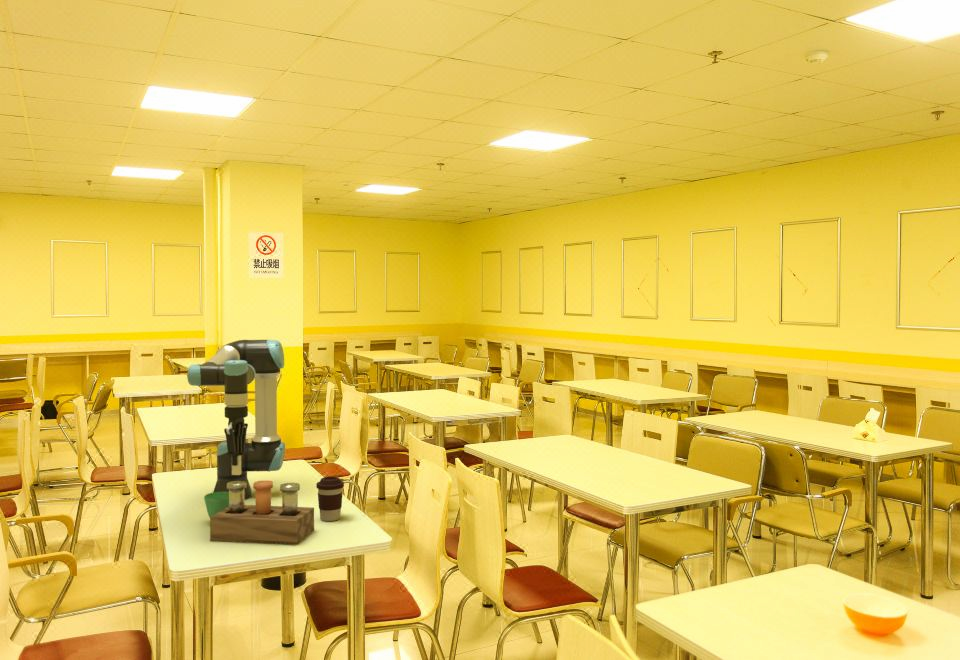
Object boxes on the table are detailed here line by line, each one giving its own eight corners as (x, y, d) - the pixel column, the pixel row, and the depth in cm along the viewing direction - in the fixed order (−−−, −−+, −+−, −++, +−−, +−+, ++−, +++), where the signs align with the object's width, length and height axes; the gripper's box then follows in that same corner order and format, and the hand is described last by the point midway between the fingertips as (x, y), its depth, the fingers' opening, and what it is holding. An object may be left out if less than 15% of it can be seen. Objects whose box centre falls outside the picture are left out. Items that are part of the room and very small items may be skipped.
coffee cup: (330, 524, 259) (330, 482, 258) (310, 520, 264) (310, 479, 264) (349, 517, 267) (349, 477, 267) (329, 513, 272) (329, 474, 272)
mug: (214, 528, 254) (214, 500, 253) (198, 523, 259) (198, 495, 259) (250, 518, 265) (250, 491, 265) (234, 514, 271) (234, 487, 271)
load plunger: (258, 510, 249) (258, 480, 249) (276, 511, 248) (276, 480, 248) (250, 515, 243) (250, 484, 243) (268, 516, 242) (268, 485, 242)
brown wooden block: (232, 526, 256) (232, 504, 255) (314, 530, 252) (314, 507, 252) (210, 540, 240) (210, 517, 240) (296, 545, 236) (296, 520, 236)
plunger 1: (232, 510, 250) (232, 480, 250) (249, 511, 250) (249, 481, 249) (223, 515, 244) (223, 484, 244) (241, 516, 243) (241, 485, 243)
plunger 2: (284, 512, 248) (284, 482, 248) (302, 513, 247) (302, 482, 247) (277, 518, 242) (277, 486, 241) (295, 519, 241) (295, 487, 240)
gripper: (234, 403, 253) (235, 470, 253) (216, 407, 240) (216, 478, 240) (255, 403, 252) (255, 470, 252) (237, 408, 239) (238, 479, 239)
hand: (236, 474), depth 246 cm, fingers closed
